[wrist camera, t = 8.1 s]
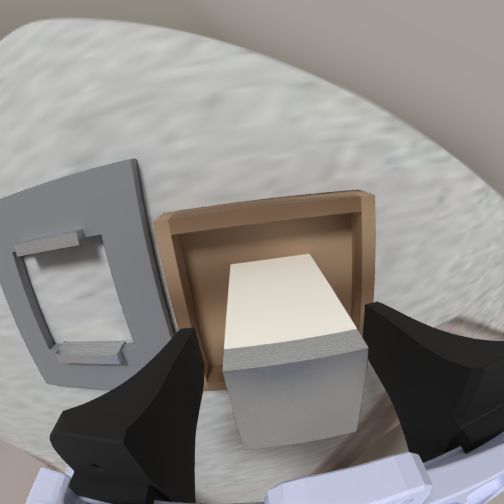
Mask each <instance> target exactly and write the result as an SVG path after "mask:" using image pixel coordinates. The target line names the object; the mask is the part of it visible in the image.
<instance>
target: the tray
mask: <svg viewBox="0 0 504 504" xmlns="http://www.w3.org/2000/svg"><path fill="white" fill-rule="evenodd" d="M153 224H154V229H155V234H156V239H157V243H158V248H159V253H160V257H161V262H162V266H163V270H164V275H165V279H166V283H167V287H168V291H169V295H170V299H171V303H172V307H173V311H174V314H175V318H176V322H177V325H178V329H179V330H180V329H181V328H193V327H195V330H196V334H197V338H198V342H199V346H200V349H201V353H202V357H203V360H204V364H205V372H204V387H203V391H214V390H227V387H226V383H225V379H224V375H223V356H224V342H225V328H226V315H227V302H228V289H229V277H230V265H231V264H238V263H245V262H253V261H260V260H267V259H275V258H282V257H289V256H296V255H304V254H310V255H311V257H312V258H313V260H314V261H315V263H316V265H317V266H318V268H319V269H320V271H321V272H322V274H323V275H324V277H325V278H326V280H327V282H328V283H329V285H330V286H331V288H332V289H333V291H334V293H335V294H336V296H337V297H338V299H339V300H340V302H341V304H342V305H343V307H344V308H345V310H346V312H347V313H348V315H349V317H350V318H351V320H352V321H353V323H354V325H355V326H356V328H357V330H358V331H359V333H360V335H361V336H362V338H363V325H364V311H365V304H368V303H373V298H374V280H375V241H376V228H375V195H372V194H369V193H367V192H364V191H361V190H350V191H338V192H327V193H316V194H306V195H297V196H287V197H278V198H270V199H261V200H253V201H245V202H237V203H230V204H222V205H215V206H208V207H201V208H194V209H187V210H181V211H175V212H168V213H164V214H162V215H161V216H160V217H159V218H157V219H156V220H155V221H154V222H153ZM367 362H368V357H367ZM366 368H367V366H366Z"/></svg>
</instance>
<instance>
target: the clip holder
mask: <svg viewBox="0 0 504 504" xmlns="http://www.w3.org/2000/svg"><path fill="white" fill-rule="evenodd" d="M96 235H102V239H103V244H104V248H105V252H106V256H107V259H108V263H109V267H110V270H111V274H112V277H113V281H114V284H115V288H116V291H117V294H118V297H119V301H120V304H121V307H122V310H123V313H124V316H125V319H126V322H127V325H128V328H129V330H130V333H131V336H132V339H133V341H134V343H130V344H125V342H124V341H110V342H64V343H63V344H54V342H53V340H52V337H51V335H50V333H49V331H48V328H47V326H46V324H45V321H44V319H43V316H42V314H41V311H40V309H39V306H38V304H37V301H36V298H35V296H34V293H33V290H32V287H31V284H30V281H29V278H28V275H27V272H26V269H25V266H24V263H23V259H22V256H24V255H29V254H34V253H39V252H44V251H50V250H55V249H61V248H66V247H72V246H77V245H80V244H82V243H83V242H85V241H86V240H88V239H89V238H91V237H92V236H96ZM0 283H1V286H2V289H3V292H4V294H5V297H6V300H7V302H8V305H9V308H10V310H11V312H12V315H13V317H14V320H15V322H16V324H17V327H18V329H19V331H20V333H21V335H22V338H23V340H24V342H25V344H26V346H27V348H28V350H29V352H30V354H31V356H32V358H33V360H34V362H35V364H36V365H37V367H38V369H39V371H40V373H41V374H42V376H43V378H44V380H45V381H46V383H47V384H52V385H60V386H69V387H80V388H92V389H108V390H113V389H114V388H116V387H117V386H119V385H121V384H122V383H124V382H125V381H127V380H128V379H129V378H131V377H132V376H133V375H135V374H136V373H137V372H138V371H140V370H141V369H142V368H143V367H144V366H145V365H146V364H147V363H148V362H149V361H150V360H151V359H153V358H154V357H155V356H156V355H157V354H158V353H159V352H160V350H161V349H162V348H163V347H164V346H165V345H166V344H167V343H168V342H169V341H170V340H171V339H172V337H173V336H174V335H175V334H174V331H173V327H172V324H171V320H170V317H169V313H168V309H167V306H166V302H165V298H164V294H163V291H162V287H161V283H160V279H159V274H158V270H157V266H156V262H155V257H154V253H153V249H152V244H151V239H150V235H149V230H148V225H147V220H146V215H145V209H144V204H143V198H142V193H141V187H140V181H139V175H138V168H137V162H136V159H129V160H125V161H121V162H117V163H113V164H109V165H105V166H101V167H97V168H93V169H90V170H86V171H83V172H79V173H76V174H72V175H69V176H66V177H62V178H59V179H56V180H53V181H50V182H47V183H44V184H41V185H38V186H35V187H32V188H29V189H26V190H23V191H21V192H18V193H15V194H13V195H10V196H7V197H5V198H2V199H0Z"/></svg>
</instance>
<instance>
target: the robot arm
mask: <svg viewBox="0 0 504 504" xmlns="http://www.w3.org/2000/svg"><path fill="white" fill-rule="evenodd" d="M363 339H364V341H365V343H366V344H367V346H368V359H369V361H370V363H371V365H372V367H373V369H374V370H375V372H376V374H377V376H378V377H379V379H380V381H381V383H382V384H383V386H384V388H385V390H386V391H387V393H388V395H389V397H390V399H391V401H392V403H393V405H394V408H395V410H396V413H397V415H398V418H399V421H400V424H401V426H402V430H403V433H404V435H405V439H406V442H407V446H408V449H409V452H404V453H399V454H394V455H390V456H387V457H384V458H381V459H378V460H374V461H371V462H367V463H364V464H360V465H356V466H352V467H348V468H344V469H340V470H335V471H331V472H326V473H321V474H315V475H310V476H304V477H300V478H296V479H292V480H288V481H284V482H282V483H280V484H278V485H276V486H275V487H273V488H271V489H270V490H268V492H267V494H266V496H265V498H264V502H253V503H234V504H486V503H487V502H488V501H490V500H491V499H493V498H494V497H496V496H497V495H498V494H500V493H501V492H502V491H504V341H490V340H480V339H473V338H468V337H463V336H459V335H455V334H451V333H448V332H445V331H442V330H439V329H436V328H433V327H431V326H428V325H426V324H424V323H421V322H419V321H417V320H415V319H413V318H410V317H408V316H406V315H404V314H402V313H400V312H398V311H396V310H394V309H393V308H391V307H388V306H386V305H384V304H382V303H380V302H374V303H368V304H365V311H364V325H363ZM204 372H205V364H204V360H203V357H202V353H201V349H200V346H199V342H198V338H197V334H196V330H195V327H193V328H181V329H180V330H179V331H178V332H177V333H176V334H175V335H174V336H173V337H172V339H171V340H170V341H169V342H168V343H167V344H166V345H165V346H164V347H163V348H162V349H161V350H160V352H159V353H158V354H157V355H156V356H155V357H154V358H153V359H151V360H150V361H149V362H148V363H147V364H146V365H145V366H144V367H143V368H142V369H141V370H140V371H138V372H137V373H136V374H135V375H133V376H132V377H131V378H129V379H128V380H127V381H125V382H124V383H122V384H121V385H119V386H117V387H116V388H114V389H113V390H111V391H109V392H108V393H106V394H104V395H102V396H100V397H98V398H96V399H94V400H92V401H89V402H87V403H85V404H82V405H79V406H77V407H74V408H71V409H68V410H65V411H63V412H62V414H61V415H60V417H59V419H58V421H57V423H56V425H55V427H54V429H53V430H52V432H51V434H50V441H51V444H52V446H53V448H54V449H55V451H56V452H57V453H58V454H59V455H60V457H61V458H62V459H63V460H64V461H65V462H66V463H67V464H68V467H67V469H66V472H65V474H64V473H61V472H58V471H55V470H51V469H48V468H45V467H41V469H40V471H39V473H38V476H37V478H36V480H35V483H34V485H33V487H32V489H31V492H30V494H29V496H28V499H27V501H26V504H198V503H196V500H195V436H196V427H197V421H198V415H199V410H200V404H201V399H202V393H203V387H204Z"/></svg>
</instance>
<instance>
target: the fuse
mask: <svg viewBox="0 0 504 504" xmlns="http://www.w3.org/2000/svg"><path fill="white" fill-rule="evenodd" d="M367 357H368V346H367V344H366V343H365V341H364V339H363V338H362V336H361V335H360V333H359V331H358V330H357V328H356V326H355V325H354V323H353V321H352V320H351V318H350V317H349V315H348V313H347V312H346V310H345V308H344V307H343V305H342V304H341V302H340V300H339V299H338V297H337V296H336V294H335V293H334V291H333V289H332V288H331V286H330V285H329V283H328V282H327V280H326V278H325V277H324V275H323V274H322V272H321V271H320V269H319V268H318V266H317V265H316V263H315V261H314V260H313V258H312V257H311V255H310V254H304V255H296V256H289V257H282V258H275V259H267V260H260V261H253V262H245V263H238V264H231V265H230V277H229V289H228V302H227V315H226V328H225V342H224V356H223V375H224V379H225V383H226V387H227V390H228V394H229V398H230V402H231V405H232V409H233V412H234V416H235V420H236V423H237V427H238V430H239V433H240V437H241V440H242V444H243V447H244V450H252V449H262V448H271V447H279V446H286V445H293V444H299V443H305V442H311V441H316V440H321V439H326V438H331V437H335V436H340V435H344V434H348V433H352V432H356V430H357V425H358V420H359V414H360V408H361V402H362V395H363V389H364V381H365V374H366V366H367Z"/></svg>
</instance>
